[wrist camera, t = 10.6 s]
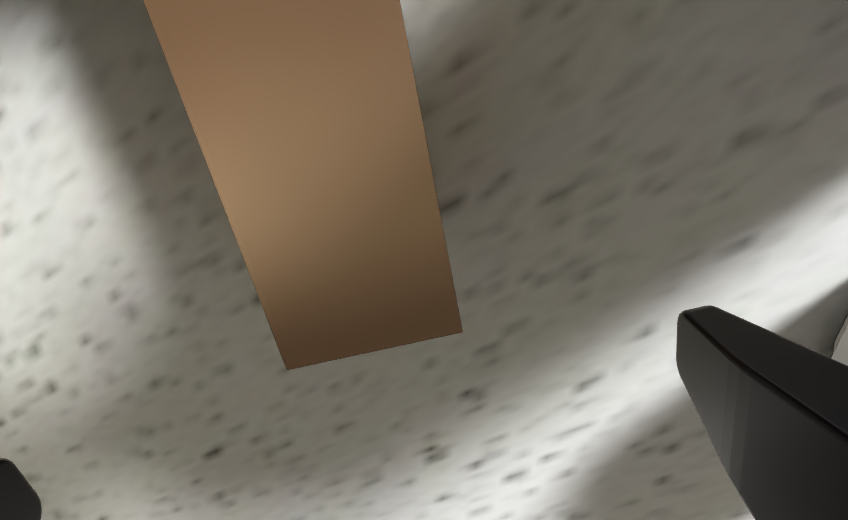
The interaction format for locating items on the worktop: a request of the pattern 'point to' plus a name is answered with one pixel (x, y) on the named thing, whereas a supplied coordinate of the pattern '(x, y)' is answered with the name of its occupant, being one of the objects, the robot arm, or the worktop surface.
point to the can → (841, 345)
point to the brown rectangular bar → (318, 166)
